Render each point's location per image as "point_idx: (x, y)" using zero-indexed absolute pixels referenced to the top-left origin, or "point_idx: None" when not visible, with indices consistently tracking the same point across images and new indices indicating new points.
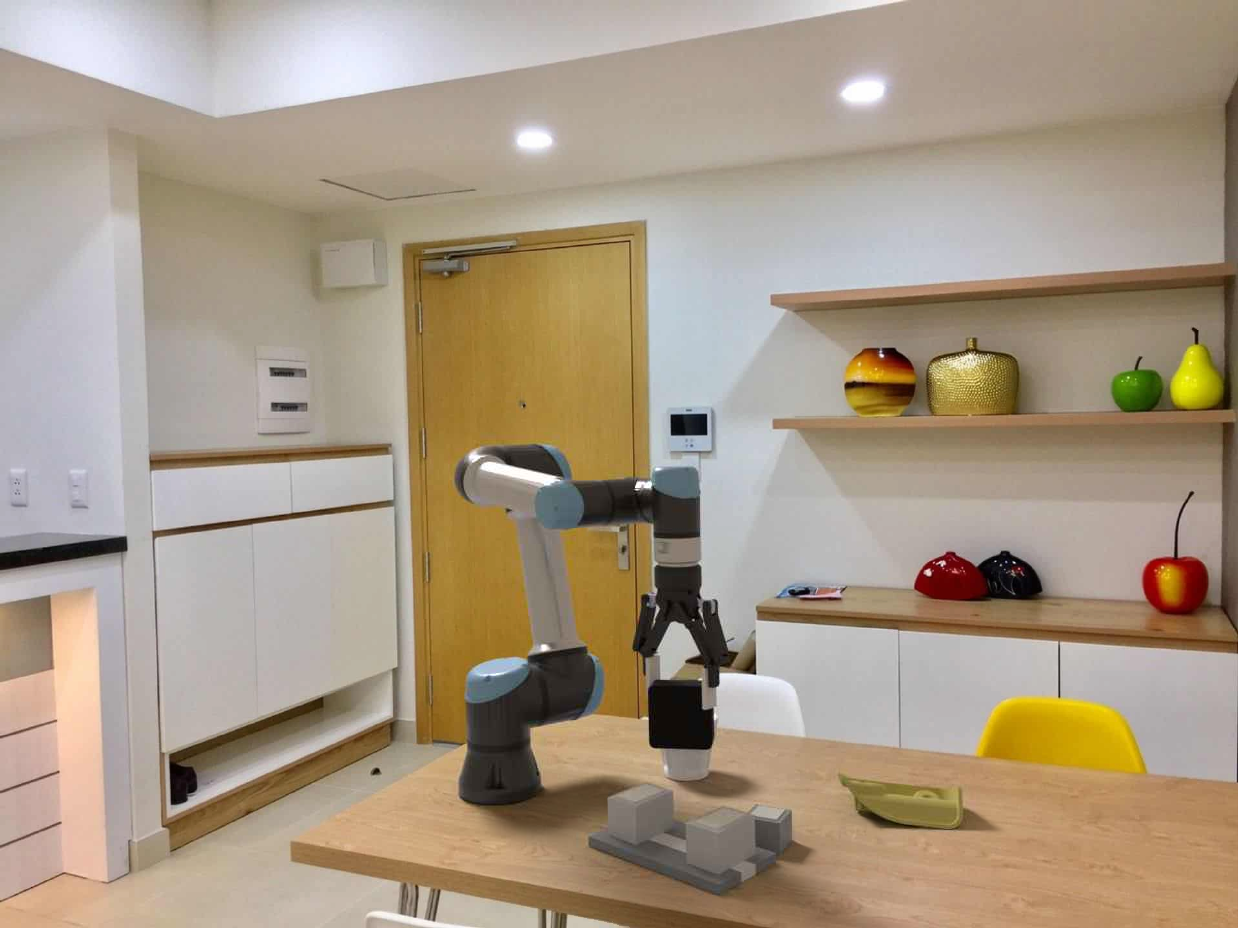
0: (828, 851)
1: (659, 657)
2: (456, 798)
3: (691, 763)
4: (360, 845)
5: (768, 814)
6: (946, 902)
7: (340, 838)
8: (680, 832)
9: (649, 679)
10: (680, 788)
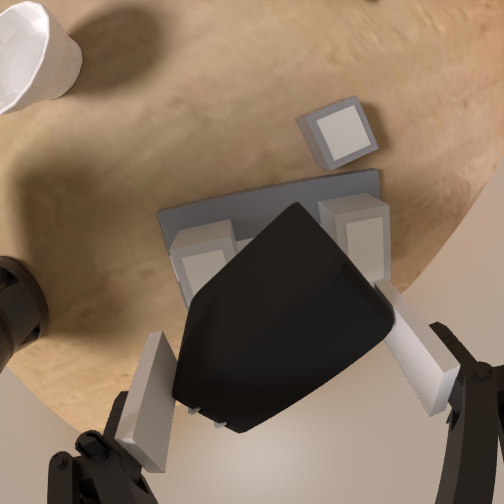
0: (388, 96)
1: (135, 434)
2: None
3: (65, 70)
4: (102, 422)
5: (351, 138)
6: (497, 126)
7: (85, 423)
8: (250, 221)
9: (172, 412)
10: (90, 103)
